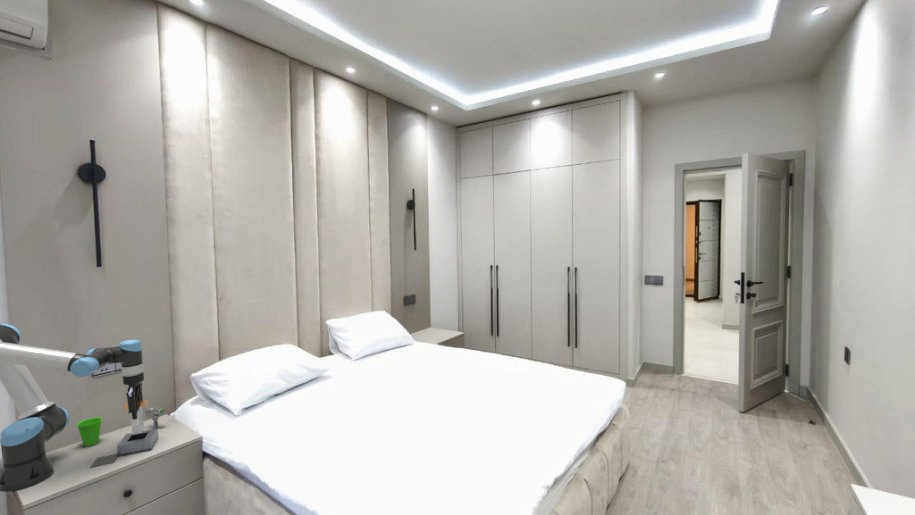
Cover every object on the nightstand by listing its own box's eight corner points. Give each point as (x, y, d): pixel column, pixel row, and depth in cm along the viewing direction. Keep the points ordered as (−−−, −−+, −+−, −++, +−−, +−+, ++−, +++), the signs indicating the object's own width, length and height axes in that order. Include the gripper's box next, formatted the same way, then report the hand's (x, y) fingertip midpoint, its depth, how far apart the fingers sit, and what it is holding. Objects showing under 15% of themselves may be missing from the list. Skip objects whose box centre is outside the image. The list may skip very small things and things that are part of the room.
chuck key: (147, 431, 183) (145, 402, 182) (126, 435, 180) (123, 405, 179) (150, 428, 186) (147, 399, 185) (128, 432, 183) (126, 402, 182)
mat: (89, 467, 168) (89, 466, 168) (97, 458, 175) (97, 457, 175) (113, 462, 171) (113, 461, 171) (120, 453, 178) (120, 452, 178)
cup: (109, 439, 192) (107, 417, 191) (90, 449, 183) (88, 426, 182) (92, 438, 193) (90, 416, 192) (72, 448, 184) (70, 425, 183)
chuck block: (117, 457, 175) (116, 446, 175) (126, 444, 186) (126, 434, 186) (151, 450, 180) (150, 439, 180) (158, 438, 191) (157, 428, 191)
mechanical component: (161, 429, 200) (160, 410, 199) (145, 428, 202) (143, 409, 201) (166, 426, 203) (165, 407, 202) (150, 425, 205) (149, 406, 204)
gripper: (137, 378, 175) (142, 429, 177) (148, 367, 190) (152, 414, 192) (116, 381, 172) (120, 433, 174) (129, 369, 187) (133, 417, 189)
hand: (137, 423), depth 183 cm, fingers closed on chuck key, 3 cm apart
